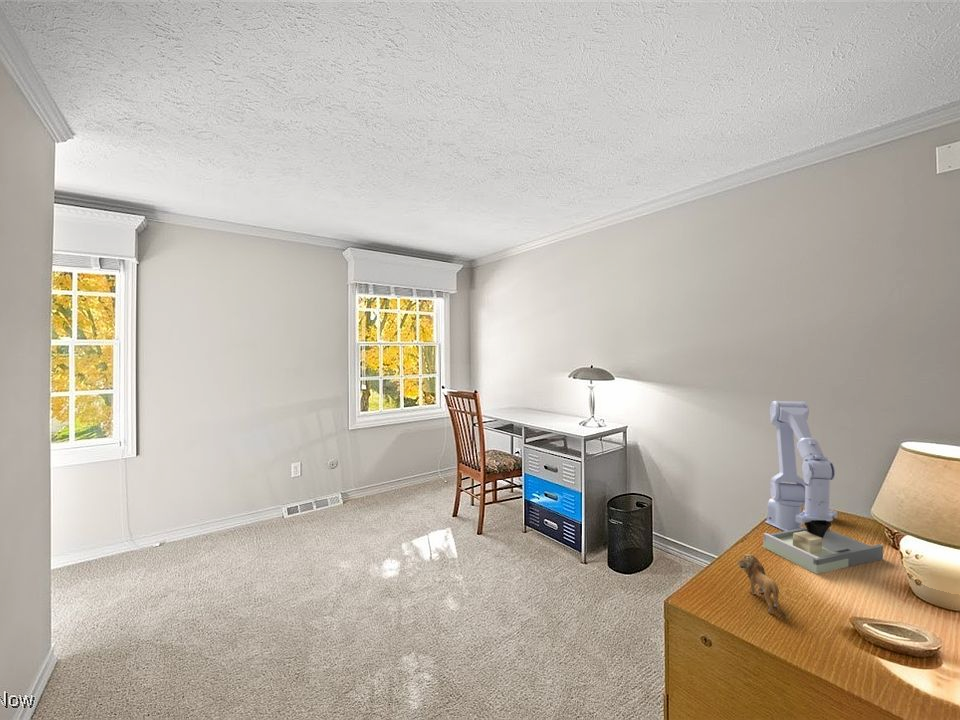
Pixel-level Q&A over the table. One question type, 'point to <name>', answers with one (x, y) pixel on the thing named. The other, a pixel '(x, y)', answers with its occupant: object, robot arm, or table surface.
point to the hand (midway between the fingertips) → (815, 543)
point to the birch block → (807, 542)
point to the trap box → (823, 551)
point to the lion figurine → (760, 580)
